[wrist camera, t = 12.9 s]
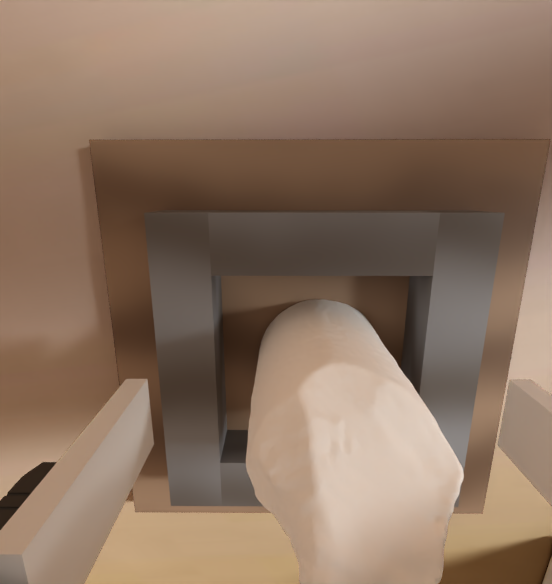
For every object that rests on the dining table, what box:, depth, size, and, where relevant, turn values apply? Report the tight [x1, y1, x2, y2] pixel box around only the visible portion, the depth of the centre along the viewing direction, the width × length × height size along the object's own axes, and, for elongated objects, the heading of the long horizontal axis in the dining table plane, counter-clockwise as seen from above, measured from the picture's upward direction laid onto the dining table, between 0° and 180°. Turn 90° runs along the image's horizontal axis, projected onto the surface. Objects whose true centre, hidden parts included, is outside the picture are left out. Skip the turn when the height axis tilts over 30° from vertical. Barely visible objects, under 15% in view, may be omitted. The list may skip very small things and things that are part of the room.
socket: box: [89, 139, 550, 514], centre depth 17 cm, size 20×20×4 cm
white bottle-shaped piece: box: [246, 299, 464, 584], centre depth 12 cm, size 6×12×6 cm
